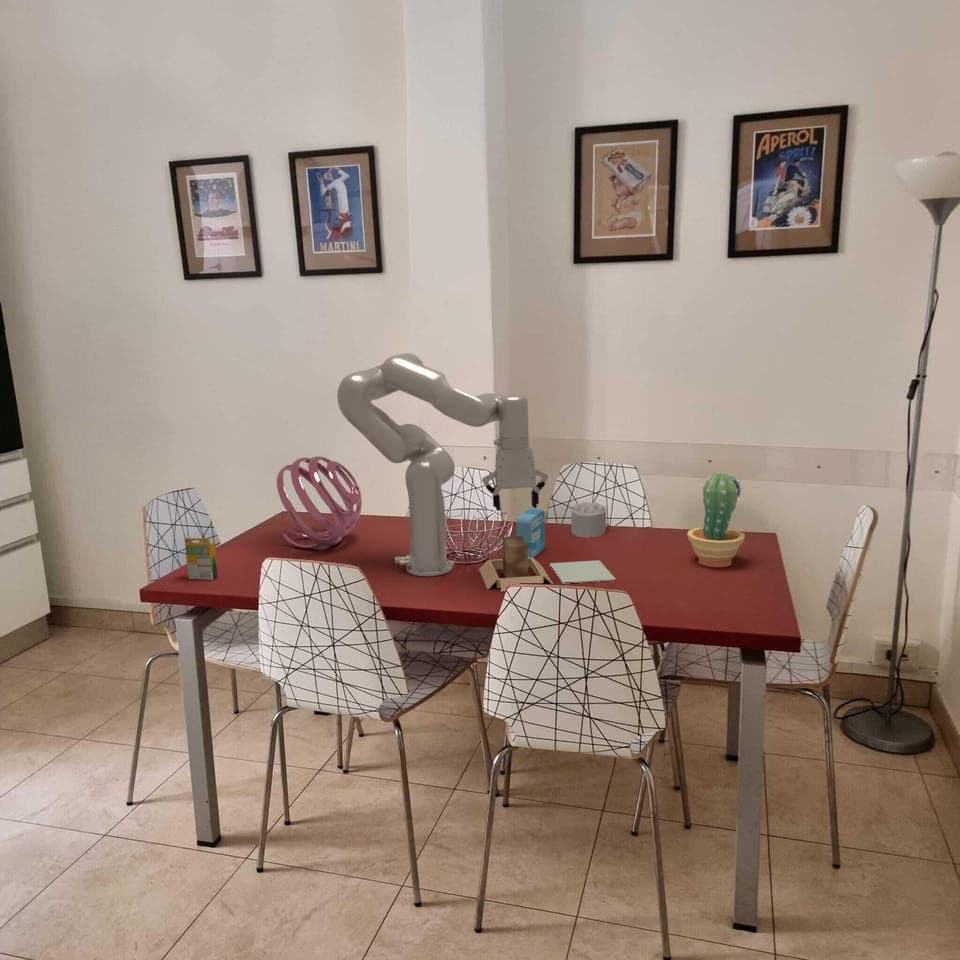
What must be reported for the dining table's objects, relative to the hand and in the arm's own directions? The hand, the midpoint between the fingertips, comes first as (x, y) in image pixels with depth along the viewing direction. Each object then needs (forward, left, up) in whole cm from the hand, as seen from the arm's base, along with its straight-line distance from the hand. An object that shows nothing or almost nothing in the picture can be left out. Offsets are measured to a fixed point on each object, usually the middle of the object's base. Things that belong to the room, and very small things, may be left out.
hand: (516, 508), depth 230 cm
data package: (+8, +20, -19) cm, 29 cm away
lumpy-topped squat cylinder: (+29, +39, -19) cm, 52 cm away
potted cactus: (+56, +2, -19) cm, 59 cm away
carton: (0, 0, -19) cm, 19 cm away
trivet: (+18, 0, -19) cm, 26 cm away
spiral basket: (-52, +42, -19) cm, 70 cm away
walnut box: (0, 0, -19) cm, 19 cm away
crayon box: (-83, +16, -19) cm, 87 cm away
